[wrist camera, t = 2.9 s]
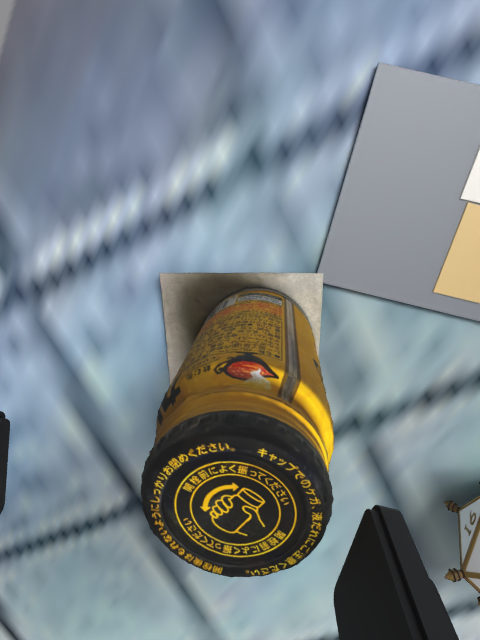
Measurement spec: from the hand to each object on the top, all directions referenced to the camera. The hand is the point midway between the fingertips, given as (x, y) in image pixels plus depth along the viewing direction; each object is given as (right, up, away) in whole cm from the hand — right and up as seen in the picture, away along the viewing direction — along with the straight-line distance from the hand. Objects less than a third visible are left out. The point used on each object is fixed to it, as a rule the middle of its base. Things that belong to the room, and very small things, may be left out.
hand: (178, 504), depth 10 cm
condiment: (+2, +4, +12) cm, 12 cm away
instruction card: (+13, +10, +9) cm, 19 cm away
